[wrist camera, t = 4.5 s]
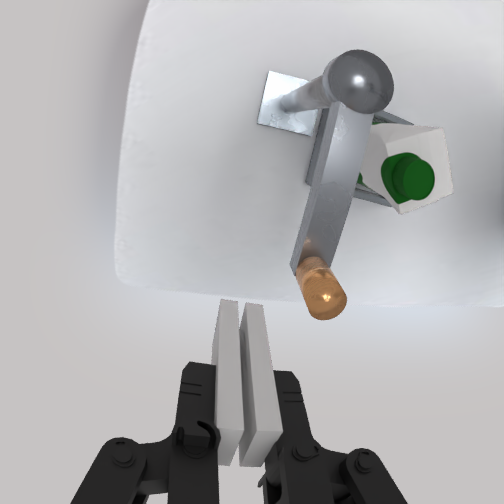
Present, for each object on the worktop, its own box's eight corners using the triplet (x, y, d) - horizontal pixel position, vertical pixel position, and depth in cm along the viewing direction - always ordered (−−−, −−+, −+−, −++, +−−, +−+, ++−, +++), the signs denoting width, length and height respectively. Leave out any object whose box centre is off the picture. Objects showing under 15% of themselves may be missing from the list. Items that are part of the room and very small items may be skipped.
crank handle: (328, 47, 16) (363, 23, 10) (384, 68, 16) (431, 57, 11) (274, 269, 22) (287, 316, 17) (327, 277, 23) (352, 322, 18)
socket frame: (326, 94, 38) (333, 92, 35) (404, 123, 40) (413, 124, 37) (305, 181, 43) (310, 186, 41) (382, 202, 45) (391, 207, 43)
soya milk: (323, 131, 40) (389, 141, 22) (374, 116, 39) (459, 122, 21) (340, 184, 44) (407, 229, 26) (388, 168, 43) (470, 202, 25)
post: (268, 72, 36) (306, 20, 15) (321, 86, 37) (404, 59, 16) (256, 123, 39) (283, 121, 18) (310, 135, 40) (385, 152, 20)
